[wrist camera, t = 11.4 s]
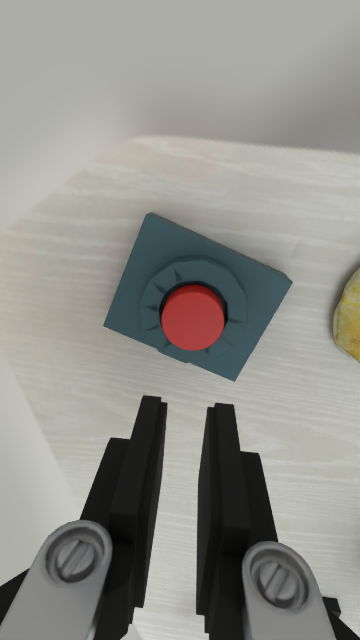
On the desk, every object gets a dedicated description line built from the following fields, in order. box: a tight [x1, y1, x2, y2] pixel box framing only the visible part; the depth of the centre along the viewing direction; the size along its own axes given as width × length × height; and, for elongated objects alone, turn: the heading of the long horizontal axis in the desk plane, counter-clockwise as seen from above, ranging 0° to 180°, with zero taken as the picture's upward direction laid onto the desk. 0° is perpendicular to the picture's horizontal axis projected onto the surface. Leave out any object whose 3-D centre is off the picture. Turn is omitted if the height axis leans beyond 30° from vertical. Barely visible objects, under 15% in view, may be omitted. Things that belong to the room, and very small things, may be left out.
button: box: [161, 284, 224, 351], centre depth 20 cm, size 4×4×2 cm
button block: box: [103, 212, 293, 381], centre depth 22 cm, size 10×8×4 cm
